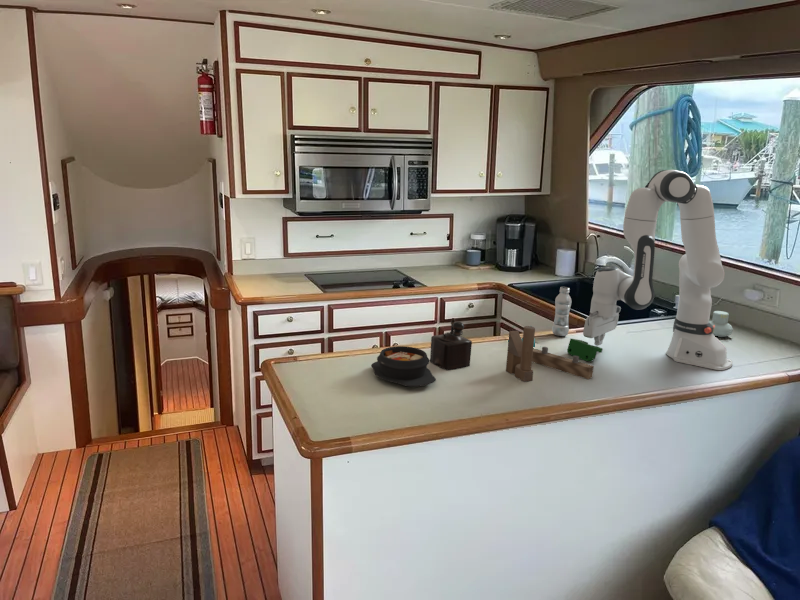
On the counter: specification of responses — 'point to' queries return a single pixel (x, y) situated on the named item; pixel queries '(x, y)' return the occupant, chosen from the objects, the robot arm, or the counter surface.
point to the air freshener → (721, 324)
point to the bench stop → (562, 363)
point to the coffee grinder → (451, 348)
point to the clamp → (583, 349)
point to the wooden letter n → (521, 354)
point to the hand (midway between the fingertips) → (598, 344)
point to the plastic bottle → (562, 312)
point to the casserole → (403, 366)
